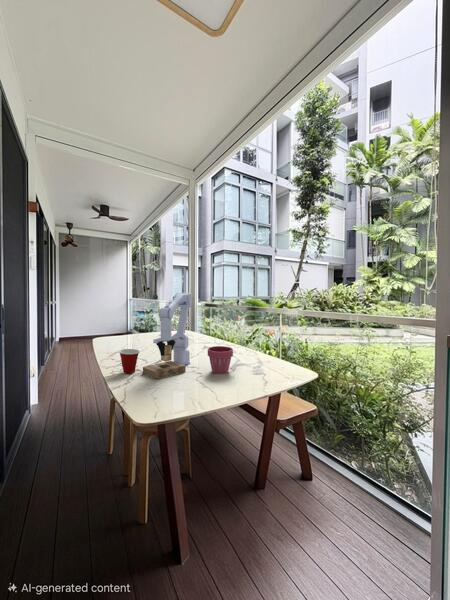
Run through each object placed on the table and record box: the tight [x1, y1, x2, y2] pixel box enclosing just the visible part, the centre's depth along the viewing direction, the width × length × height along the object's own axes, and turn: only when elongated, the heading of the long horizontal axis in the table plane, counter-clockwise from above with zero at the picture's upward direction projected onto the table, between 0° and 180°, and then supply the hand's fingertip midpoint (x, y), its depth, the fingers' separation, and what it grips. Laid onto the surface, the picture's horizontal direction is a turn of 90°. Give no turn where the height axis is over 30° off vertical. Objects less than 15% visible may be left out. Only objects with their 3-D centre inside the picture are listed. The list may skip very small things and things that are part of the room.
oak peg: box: [160, 344, 173, 362], centre depth 143 cm, size 4×4×8 cm
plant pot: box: [207, 345, 234, 375], centre depth 146 cm, size 14×14×13 cm
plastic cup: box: [118, 348, 141, 375], centre depth 144 cm, size 11×11×12 cm
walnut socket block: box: [142, 360, 187, 380], centre depth 144 cm, size 18×14×4 cm
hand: (165, 354), depth 143 cm, fingers closed on oak peg, 4 cm apart
